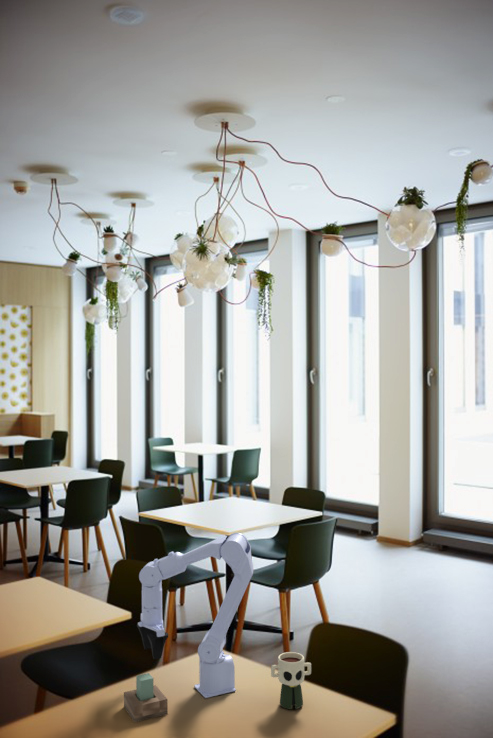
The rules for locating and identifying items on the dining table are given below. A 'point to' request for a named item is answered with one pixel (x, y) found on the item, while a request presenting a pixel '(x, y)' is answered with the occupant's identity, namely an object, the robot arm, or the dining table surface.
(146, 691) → the square peg
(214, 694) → the robot arm
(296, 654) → the character mug
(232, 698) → the dining table surface
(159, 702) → the hole block
